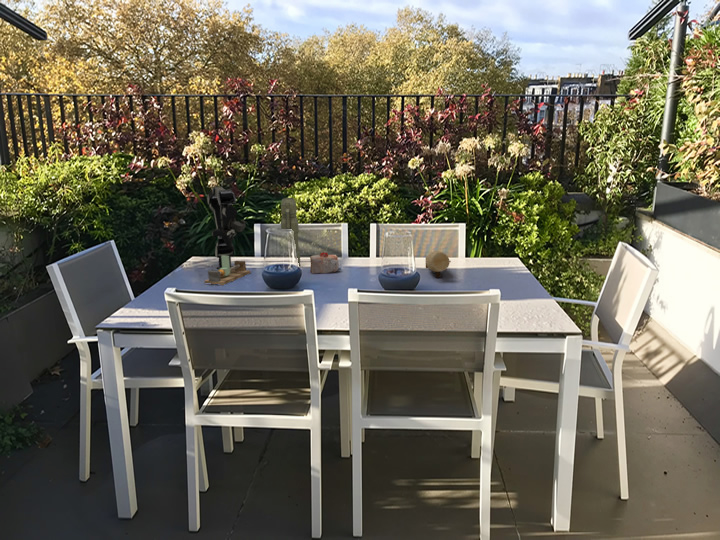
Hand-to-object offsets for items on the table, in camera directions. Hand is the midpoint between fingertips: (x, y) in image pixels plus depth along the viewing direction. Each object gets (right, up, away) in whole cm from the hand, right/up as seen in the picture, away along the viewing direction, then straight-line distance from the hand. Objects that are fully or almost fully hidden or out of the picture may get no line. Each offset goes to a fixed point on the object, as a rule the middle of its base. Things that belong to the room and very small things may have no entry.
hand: (229, 247), depth 294 cm
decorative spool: (+100, -13, -9) cm, 101 cm away
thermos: (+29, -9, +15) cm, 34 cm away
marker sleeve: (0, -13, -9) cm, 16 cm away
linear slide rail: (+1, -15, -7) cm, 16 cm away
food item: (+46, -12, +2) cm, 48 cm away
